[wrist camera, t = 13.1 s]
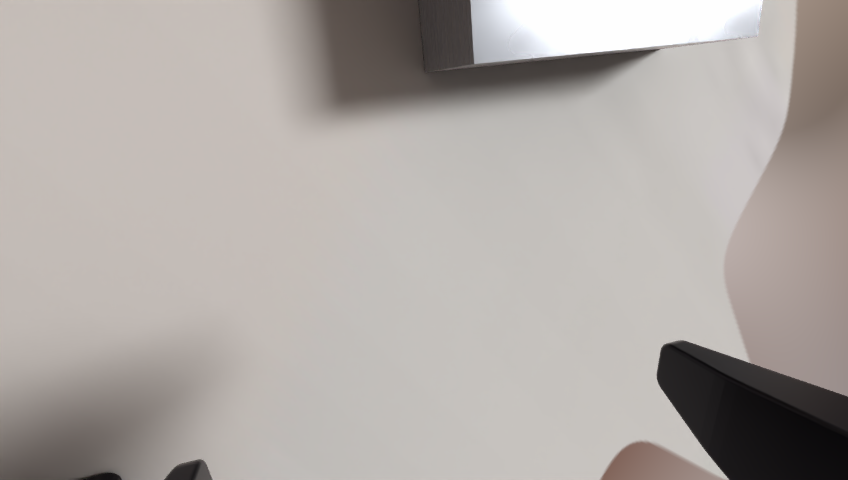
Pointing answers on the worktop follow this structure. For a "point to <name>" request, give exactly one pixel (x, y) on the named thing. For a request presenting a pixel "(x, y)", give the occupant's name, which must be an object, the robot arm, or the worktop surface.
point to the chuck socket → (572, 28)
